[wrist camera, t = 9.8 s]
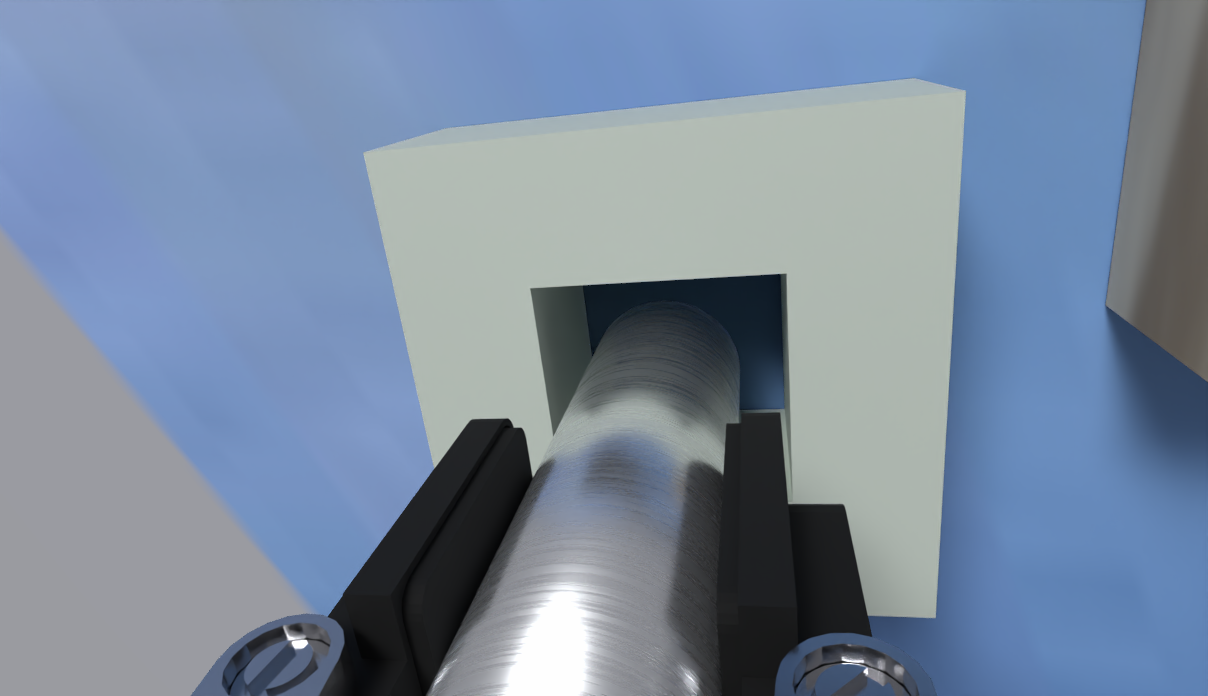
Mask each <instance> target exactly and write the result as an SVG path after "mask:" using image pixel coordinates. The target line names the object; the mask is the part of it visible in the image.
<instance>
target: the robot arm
mask: <svg viewBox="0 0 1208 696" xmlns="http://www.w3.org/2000/svg"><path fill="white" fill-rule="evenodd" d="M532 479H533V476H532V470H531V464H530V458H529V452H528V446H527V440H526V436H525V432H524V430H523V429H522V428H521V427H520V428H514V426H513V424H512V422H511V420H509V419H508V418H501V419H472V420H470V421H469V422H468V424H467V425H466V426H465V428H464V429H463V430H462V432H461V433H460V435H459V436H458V437H457V439H456V440H455V441H454V443H453V444H452V445H451V447H450V448H449V450H448V451H447V452H446V454H445V455H444V456H443V458H442V459H441V461H440V462H439V463H438V465H437V466H436V467H435V469H434V470H433V471H432V473H431V474H430V476H429V477H428V478H427V480H426V481H425V482H424V484H423V485H422V486H421V488H420V489H419V491H418V492H417V493H416V495H415V496H414V497H413V499H412V500H411V501H410V503H409V504H408V506H407V507H406V508H405V510H404V511H403V512H402V514H401V515H400V517H399V518H398V519H397V521H396V522H395V523H394V525H393V526H392V527H391V529H390V530H389V532H388V533H387V534H386V536H385V537H384V538H383V540H382V541H381V542H380V544H379V545H378V547H377V548H376V549H375V551H374V552H373V553H372V555H371V556H370V558H369V559H368V560H367V562H366V563H365V564H364V566H363V567H362V568H361V570H360V571H359V573H358V574H357V575H356V577H355V578H354V579H353V581H352V582H351V583H350V585H349V586H348V588H347V589H346V590H345V592H344V593H343V596H342V598H341V599H340V600H339V602H338V603H337V605H336V606H335V607H334V609H333V610H332V611H331V613H330V614H329V616H328V617H326V616H324V615H317V614H301V615H294V616H287V617H284V618H281V619H279V620H275V621H272V622H269V623H267V624H265V625H263V626H261V627H259V628H257V629H255V630H253V631H251V632H249V633H247V634H246V635H245V636H243V637H242V638H241V639H239V640H238V641H237V642H235V643H234V644H233V645H231V646H230V647H229V648H228V649H227V650H226V651H225V653H224V654H223V655H222V656H221V657H220V658H219V659H218V660H217V661H216V662H215V664H214V665H213V666H212V668H211V669H210V670H209V672H208V673H207V675H206V676H205V677H204V679H203V680H202V681H201V683H200V684H199V685H198V687H197V688H196V689H195V691H194V692H193V693H192V695H191V696H426V695H427V693H428V690H429V688H430V686H431V684H432V682H433V680H434V678H435V676H436V674H437V672H438V670H439V668H440V666H441V664H442V662H443V660H444V658H445V656H446V654H447V652H448V650H449V648H450V646H451V644H452V642H453V640H454V638H455V636H456V634H457V632H458V630H459V627H460V625H461V623H462V621H463V619H464V617H465V615H466V613H467V611H468V609H469V607H470V605H471V603H472V601H473V599H474V597H475V595H476V593H477V591H478V589H479V587H480V585H481V583H482V581H483V579H484V577H485V575H486V573H487V571H488V569H489V566H490V564H491V562H492V560H493V558H494V556H495V554H496V552H497V550H498V548H499V546H500V544H501V542H502V540H503V538H504V536H505V534H506V532H507V530H508V528H509V526H510V524H511V522H512V520H513V518H514V516H515V514H516V512H517V510H518V508H519V505H520V503H521V501H522V499H523V497H524V495H525V493H526V491H527V489H528V487H529V485H530V483H531V481H532ZM717 630H718V644H719V658H720V671H721V684H722V696H937V693H936V690H935V688H934V685H933V682H932V680H931V678H930V677H929V675H928V674H927V673H926V672H925V670H924V669H923V668H922V667H921V666H920V664H919V663H918V662H917V661H916V660H915V659H913V658H912V657H910V656H909V655H908V654H906V653H905V652H904V651H902V650H901V649H899V648H898V647H896V646H893V645H891V644H889V643H887V642H884V641H882V640H880V639H877V638H874V637H872V634H871V629H870V624H869V619H868V614H867V610H866V605H865V600H864V595H863V590H862V586H861V581H860V576H859V571H858V566H857V561H856V557H855V552H854V547H853V542H852V537H851V533H850V528H849V523H848V518H847V513H846V509H845V506H844V505H843V504H788V496H787V484H786V472H785V461H784V449H783V438H782V426H781V414H780V412H767V413H741V423H726V437H725V454H724V472H723V489H722V506H721V524H720V541H719V558H718V576H717Z"/></svg>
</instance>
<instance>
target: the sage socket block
mask: <svg viewBox="0 0 1208 696" xmlns="http://www.w3.org/2000/svg"><path fill="white" fill-rule="evenodd" d="M965 97H966V91H964V90H960V89H956V88H952V87H948V86H944V85H939V84H935V83H931V82H927V81H923V80H919V79H915V78H911V79H902V80H893V81H883V82H874V83H865V84H855V85H846V86H836V87H827V88H818V89H808V90H799V91H790V92H780V93H771V94H762V95H752V96H743V97H734V98H724V99H715V100H706V101H696V102H687V103H678V104H668V105H659V106H650V107H640V108H631V109H622V110H612V111H603V112H594V113H584V114H575V115H565V116H556V117H547V118H537V119H528V120H519V121H509V122H500V123H491V124H481V125H472V126H463V127H453V128H445V129H442V130H439V131H435V132H432V133H428V134H425V135H422V136H418V137H415V138H411V139H408V140H405V141H401V142H398V143H394V144H391V145H387V146H384V147H381V148H377V149H374V150H370V151H367V152H364V158H365V162H366V167H367V171H368V176H369V180H370V184H371V189H372V193H373V198H374V202H375V207H376V211H377V216H378V220H379V224H380V229H381V233H382V238H383V242H384V247H385V251H386V256H387V260H388V265H389V269H390V273H391V278H392V282H393V287H394V291H395V296H396V300H397V305H398V309H399V313H400V318H401V322H402V327H403V331H404V336H405V340H406V345H407V349H408V354H409V358H410V362H411V367H412V371H413V376H414V380H415V385H416V389H417V394H418V398H419V402H420V407H421V411H422V416H423V420H424V425H425V429H426V434H427V438H428V443H429V447H430V451H431V456H432V460H433V465H434V469H435V467H436V466H437V465H438V463H439V462H440V461H441V459H442V458H443V456H444V455H445V454H446V452H447V451H448V450H449V448H450V447H451V445H452V444H453V443H454V441H455V440H456V439H457V437H458V436H459V435H460V433H461V432H462V430H463V429H464V428H465V426H466V425H467V424H468V422H469V421H470V420H472V419H501V418H508V419H509V420H511V422H512V424H513V426H514V428H520V427H521V428H522V429H523V430H524V432H525V436H526V440H527V446H528V452H529V458H530V464H531V470H532V476H533V477H534V475H535V473H536V471H537V469H538V467H539V465H540V463H541V461H542V459H543V457H544V455H545V453H546V451H547V449H548V447H549V444H550V442H551V440H552V438H553V436H554V434H555V432H556V430H557V428H558V426H559V424H560V422H561V420H562V418H563V416H564V414H565V412H566V410H567V408H568V406H569V404H570V402H571V400H572V398H573V396H574V394H575V392H576V390H577V388H578V386H579V384H580V381H581V379H582V377H583V375H584V373H585V371H586V369H587V367H588V365H589V363H590V361H591V359H592V353H591V345H590V338H589V330H588V322H587V315H586V307H585V299H584V291H583V285H596V284H613V283H631V282H648V281H665V280H682V279H700V278H717V277H734V276H752V275H769V274H781V307H782V340H783V374H784V407H785V409H763V410H739V423H741V413H767V412H780V414H781V426H782V438H783V449H784V461H785V472H786V484H787V496H788V504H843V505H844V506H845V509H846V513H847V518H848V523H849V528H850V533H851V537H852V542H853V547H854V552H855V557H856V561H857V566H858V571H859V576H860V581H861V586H862V590H863V595H864V600H865V605H866V610H867V614H868V616H891V617H920V618H936V601H937V583H938V566H939V548H940V531H941V514H942V496H943V479H944V462H945V444H946V427H947V409H948V392H949V375H950V357H951V340H952V323H953V305H954V288H955V270H956V253H957V236H958V218H959V201H960V183H961V166H962V149H963V131H964V114H965Z"/></svg>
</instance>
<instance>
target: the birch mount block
mask: <svg viewBox="0 0 1208 696" xmlns="http://www.w3.org/2000/svg"><path fill="white" fill-rule="evenodd" d="M1106 306H1107V307H1109V308H1110V309H1111V310H1113V311H1114V312H1115V313H1117V314H1118V315H1119V316H1121V317H1122V318H1123V319H1125V320H1126V321H1127V322H1129V323H1130V324H1131V325H1133V326H1134V327H1135V328H1137V329H1138V330H1139V331H1141V332H1142V333H1143V334H1145V335H1146V336H1147V337H1149V338H1150V339H1151V340H1152V341H1154V342H1155V343H1156V344H1158V345H1159V346H1160V347H1162V348H1163V349H1164V350H1166V351H1167V352H1168V353H1170V354H1171V355H1172V356H1174V357H1175V358H1176V359H1178V360H1179V361H1180V362H1182V363H1183V364H1184V365H1186V366H1187V367H1188V368H1190V369H1191V370H1192V371H1194V372H1195V373H1196V374H1198V375H1199V376H1200V377H1202V378H1203V379H1204V380H1206V381H1207V382H1208V0H1147V2H1146V9H1145V17H1144V24H1143V32H1142V39H1141V46H1140V54H1139V61H1138V69H1137V76H1136V84H1135V91H1134V98H1133V106H1132V113H1131V121H1130V128H1129V135H1128V143H1127V150H1126V158H1125V165H1124V173H1123V180H1122V187H1121V195H1120V202H1119V210H1118V217H1117V224H1116V232H1115V239H1114V247H1113V254H1112V262H1111V269H1110V276H1109V284H1108V291H1107V299H1106Z"/></svg>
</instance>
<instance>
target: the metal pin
mask: <svg viewBox="0 0 1208 696" xmlns="http://www.w3.org/2000/svg"><path fill="white" fill-rule="evenodd" d="M739 396H740V361H739V356H738V352H737V348H736V346H735V344H734V342H733V340H732V338H731V336H730V335H729V333H728V332H727V330H726V329H725V328H724V327H723V325H722V324H721V323H720V322H718V321H717V320H716V319H715V318H714V317H713V316H711V315H710V314H708V313H707V312H705V311H703V310H702V309H700V308H698V307H695V306H693V305H690V304H686V303H683V302H677V301H652V302H648V303H644V304H640V305H638V306H635V307H633V308H631V309H629V310H628V311H626V312H624V313H623V314H622V315H620V316H619V317H618V318H617V319H616V320H615V321H613V322H612V323H611V325H610V326H609V327H608V329H607V330H606V332H605V333H604V335H603V337H602V339H601V341H600V343H599V345H598V347H597V349H596V351H595V353H594V355H593V357H592V359H591V361H590V363H589V365H588V367H587V369H586V371H585V373H584V375H583V377H582V379H581V381H580V384H579V386H578V388H577V390H576V392H575V394H574V396H573V398H572V400H571V402H570V404H569V406H568V408H567V410H566V412H565V414H564V416H563V418H562V420H561V422H560V424H559V426H558V428H557V430H556V432H555V434H554V436H553V438H552V440H551V442H550V444H549V447H548V449H547V451H546V453H545V455H544V457H543V459H542V461H541V463H540V465H539V467H538V469H537V471H536V473H535V475H534V477H533V479H532V481H531V483H530V485H529V487H528V489H527V491H526V493H525V495H524V497H523V499H522V501H521V503H520V505H519V508H518V510H517V512H516V514H515V516H514V518H513V520H512V522H511V524H510V526H509V528H508V530H507V532H506V534H505V536H504V538H503V540H502V542H501V544H500V546H499V548H498V550H497V552H496V554H495V556H494V558H493V560H492V562H491V564H490V566H489V569H488V571H487V573H486V575H485V577H484V579H483V581H482V583H481V585H480V587H479V589H478V591H477V593H476V595H475V597H474V599H473V601H472V603H471V605H470V607H469V609H468V611H467V613H466V615H465V617H464V619H463V621H462V623H461V625H460V627H459V630H458V632H457V634H456V636H455V638H454V640H453V642H452V644H451V646H450V648H449V650H448V652H447V654H446V656H445V658H444V660H443V662H442V664H441V666H440V668H439V670H438V672H437V674H436V676H435V678H434V680H433V682H432V684H431V686H430V688H429V690H428V693H427V695H426V696H722V684H721V671H720V658H719V644H718V630H717V576H718V558H719V541H720V524H721V506H722V489H723V472H724V454H725V437H726V423H739Z"/></svg>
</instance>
